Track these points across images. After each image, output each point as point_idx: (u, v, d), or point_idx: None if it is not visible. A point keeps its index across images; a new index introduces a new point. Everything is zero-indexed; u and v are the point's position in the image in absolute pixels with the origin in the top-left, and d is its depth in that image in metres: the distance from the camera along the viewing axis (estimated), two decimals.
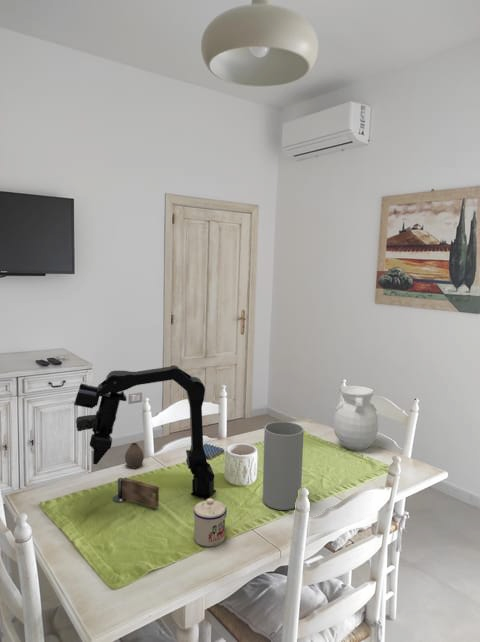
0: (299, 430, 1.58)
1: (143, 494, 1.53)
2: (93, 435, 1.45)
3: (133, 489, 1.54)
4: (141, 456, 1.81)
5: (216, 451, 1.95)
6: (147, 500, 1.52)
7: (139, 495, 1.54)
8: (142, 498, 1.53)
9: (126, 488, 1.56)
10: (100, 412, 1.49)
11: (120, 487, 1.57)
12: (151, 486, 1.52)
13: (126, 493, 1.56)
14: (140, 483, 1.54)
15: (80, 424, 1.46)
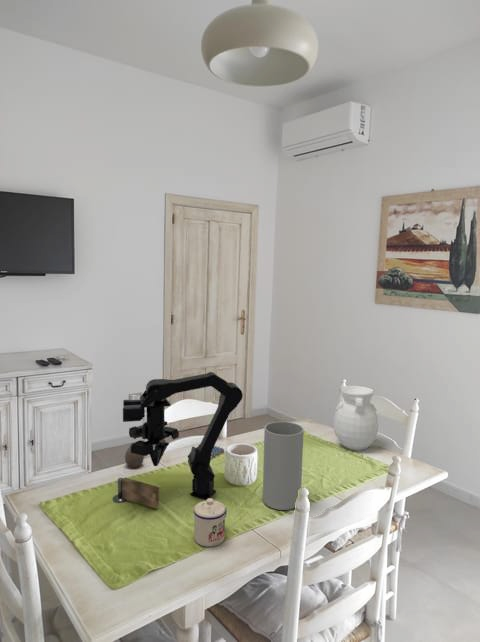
0: (299, 430, 1.58)
1: (143, 494, 1.53)
2: (135, 442, 1.51)
3: (133, 489, 1.54)
4: (141, 456, 1.81)
5: (216, 451, 1.95)
6: (147, 500, 1.52)
7: (139, 495, 1.54)
8: (142, 498, 1.53)
9: (126, 488, 1.56)
10: None
11: (120, 487, 1.57)
12: (151, 486, 1.52)
13: (126, 493, 1.56)
14: (140, 483, 1.54)
15: (129, 432, 1.55)
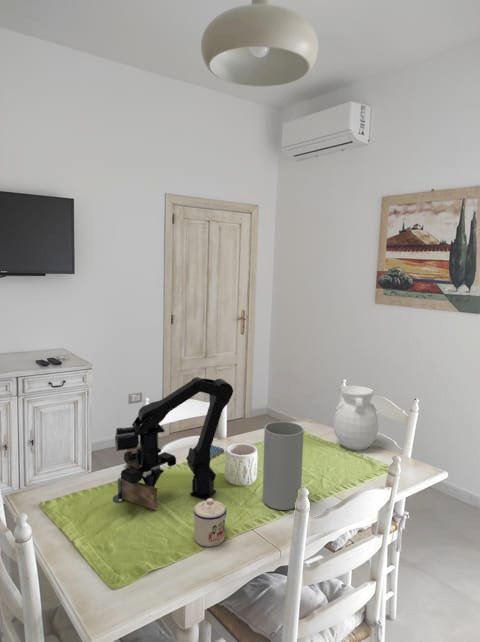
0: (299, 430, 1.58)
1: (142, 495, 1.52)
2: None
3: (132, 489, 1.54)
4: None
5: (216, 451, 1.95)
6: (146, 501, 1.52)
7: (138, 496, 1.53)
8: (141, 499, 1.53)
9: (126, 488, 1.56)
10: (140, 446, 1.53)
11: (120, 487, 1.57)
12: (150, 487, 1.51)
13: (126, 493, 1.56)
14: (139, 484, 1.53)
15: (124, 457, 1.55)
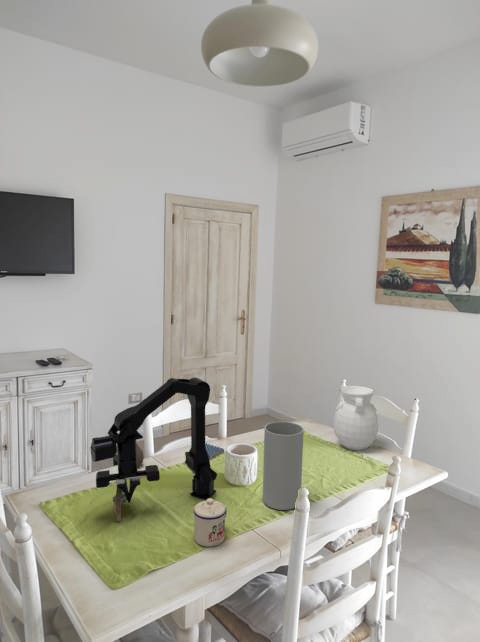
0: (299, 430, 1.58)
1: None
2: None
3: None
4: (141, 456, 1.81)
5: (216, 451, 1.95)
6: None
7: None
8: None
9: None
10: None
11: None
12: (118, 496, 1.45)
13: None
14: (118, 489, 1.49)
15: None
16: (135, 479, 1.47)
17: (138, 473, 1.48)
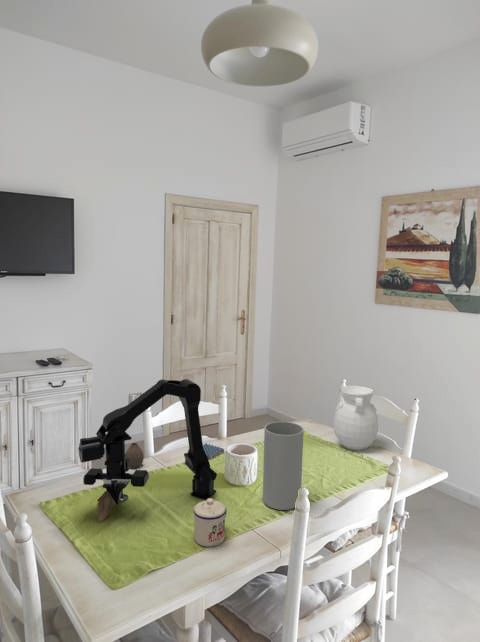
0: (299, 430, 1.58)
1: None
2: None
3: None
4: (141, 456, 1.81)
5: (216, 451, 1.95)
6: None
7: None
8: None
9: None
10: None
11: None
12: (103, 496, 1.45)
13: None
14: None
15: None
16: (122, 482, 1.46)
17: (125, 476, 1.46)
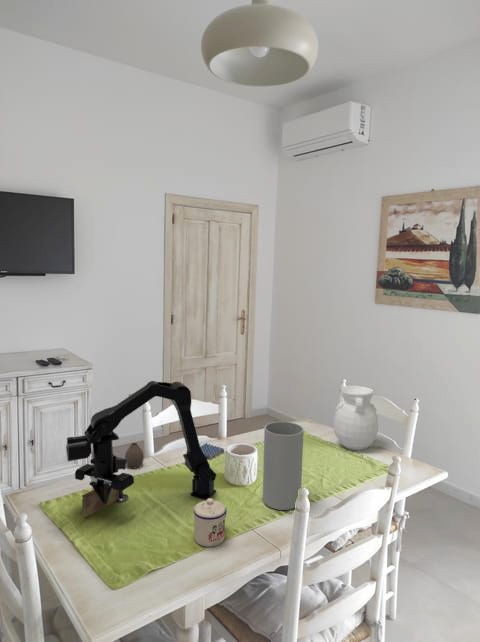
0: (299, 430, 1.58)
1: None
2: None
3: None
4: (141, 456, 1.81)
5: (216, 451, 1.95)
6: None
7: None
8: None
9: None
10: None
11: None
12: (89, 493, 1.47)
13: None
14: None
15: None
16: (106, 482, 1.45)
17: (110, 477, 1.45)
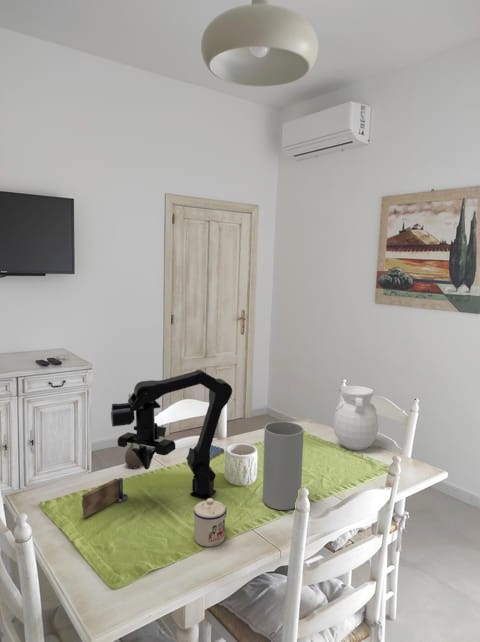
0: (299, 430, 1.58)
1: None
2: None
3: None
4: None
5: (216, 451, 1.95)
6: None
7: None
8: None
9: None
10: None
11: (120, 487, 1.57)
12: (89, 493, 1.47)
13: None
14: (100, 487, 1.50)
15: None
16: (149, 448, 1.51)
17: (153, 443, 1.52)
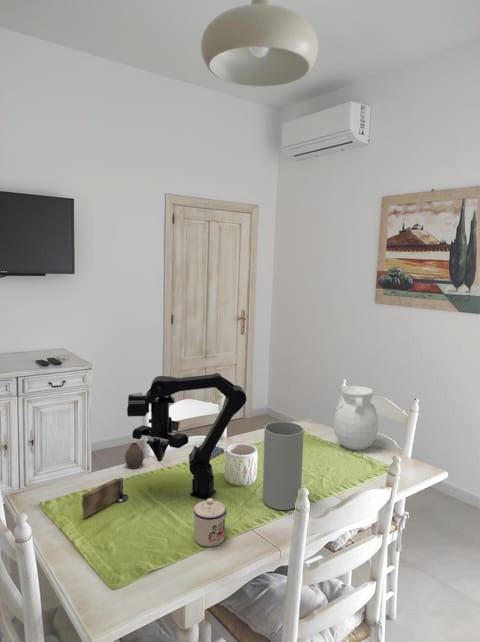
0: (299, 430, 1.58)
1: None
2: None
3: None
4: (141, 456, 1.81)
5: (216, 451, 1.95)
6: None
7: None
8: None
9: None
10: None
11: (120, 487, 1.57)
12: (89, 493, 1.47)
13: None
14: (100, 487, 1.50)
15: None
16: (163, 441, 1.56)
17: (167, 436, 1.56)
